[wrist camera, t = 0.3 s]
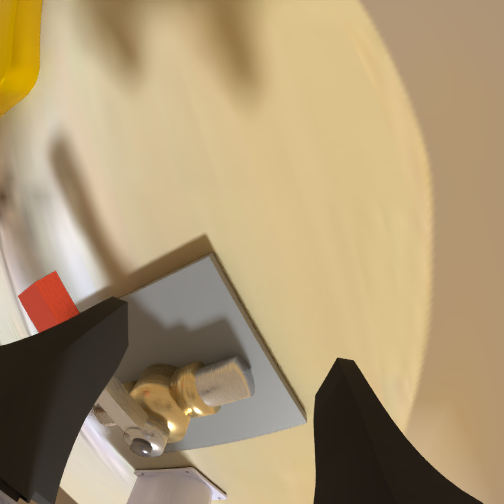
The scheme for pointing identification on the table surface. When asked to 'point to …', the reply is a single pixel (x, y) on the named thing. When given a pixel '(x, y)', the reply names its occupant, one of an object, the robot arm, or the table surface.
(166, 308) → the base board
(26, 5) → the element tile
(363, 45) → the table surface
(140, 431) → the lever
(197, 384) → the valve
